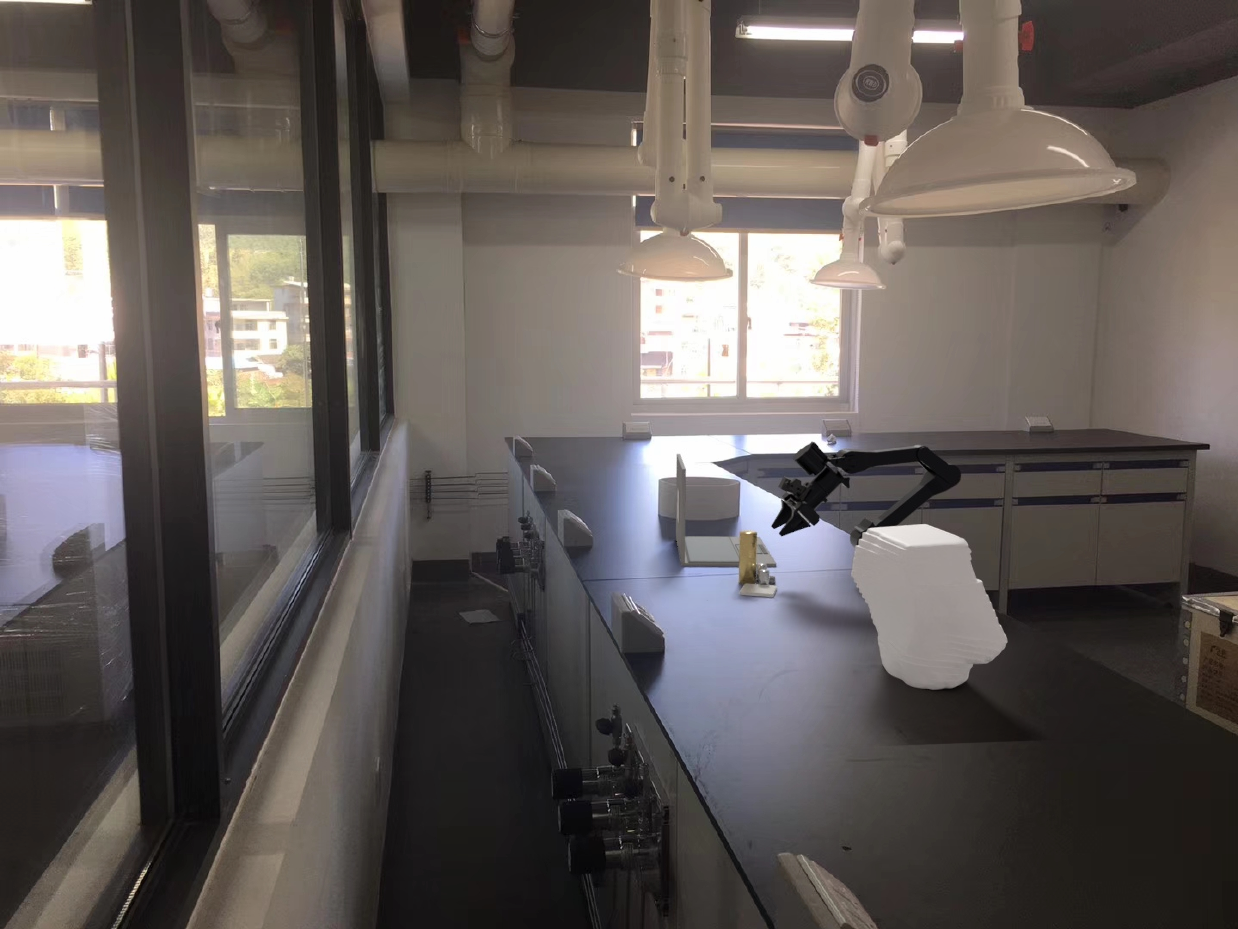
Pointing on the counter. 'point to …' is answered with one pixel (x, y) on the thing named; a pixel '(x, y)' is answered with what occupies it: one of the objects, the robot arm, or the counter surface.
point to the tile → (758, 590)
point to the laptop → (708, 538)
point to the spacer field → (764, 575)
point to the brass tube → (747, 557)
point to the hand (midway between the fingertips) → (776, 531)
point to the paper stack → (926, 604)
